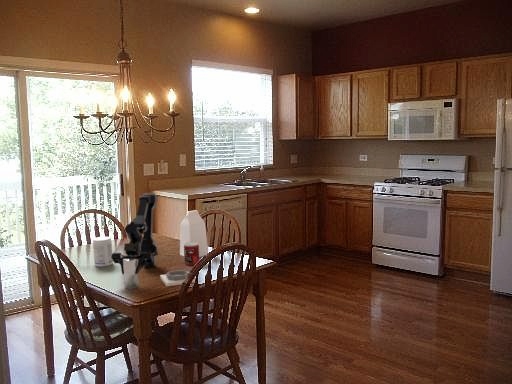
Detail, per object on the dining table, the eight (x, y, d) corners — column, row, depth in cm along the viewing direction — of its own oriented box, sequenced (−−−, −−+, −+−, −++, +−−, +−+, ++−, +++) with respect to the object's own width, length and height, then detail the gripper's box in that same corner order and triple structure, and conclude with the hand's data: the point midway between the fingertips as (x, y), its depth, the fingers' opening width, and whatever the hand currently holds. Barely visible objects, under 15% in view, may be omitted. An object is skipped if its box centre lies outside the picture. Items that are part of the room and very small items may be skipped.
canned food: (181, 263, 254) (181, 244, 253) (193, 260, 260) (192, 241, 258) (190, 266, 249) (189, 246, 247) (202, 263, 254) (201, 243, 253)
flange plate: (160, 278, 230) (159, 271, 229) (188, 274, 235) (187, 267, 235) (166, 286, 217) (166, 279, 216) (195, 282, 222) (195, 275, 222)
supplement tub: (107, 261, 262) (106, 235, 260) (116, 264, 255) (114, 238, 254) (91, 264, 255) (89, 238, 253) (99, 268, 249) (97, 241, 247)
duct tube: (123, 285, 219) (122, 258, 217) (136, 284, 221) (135, 257, 220) (125, 289, 213) (123, 262, 212) (138, 287, 216) (137, 260, 214)
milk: (190, 258, 264) (188, 213, 261) (180, 254, 273) (178, 210, 269) (208, 255, 271) (206, 210, 268) (197, 251, 280) (196, 208, 277)
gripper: (111, 236, 219) (104, 265, 209) (150, 235, 218) (145, 265, 208) (117, 248, 227) (111, 277, 218) (155, 247, 227) (151, 276, 217)
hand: (129, 274), depth 215 cm, fingers closed on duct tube, 6 cm apart
